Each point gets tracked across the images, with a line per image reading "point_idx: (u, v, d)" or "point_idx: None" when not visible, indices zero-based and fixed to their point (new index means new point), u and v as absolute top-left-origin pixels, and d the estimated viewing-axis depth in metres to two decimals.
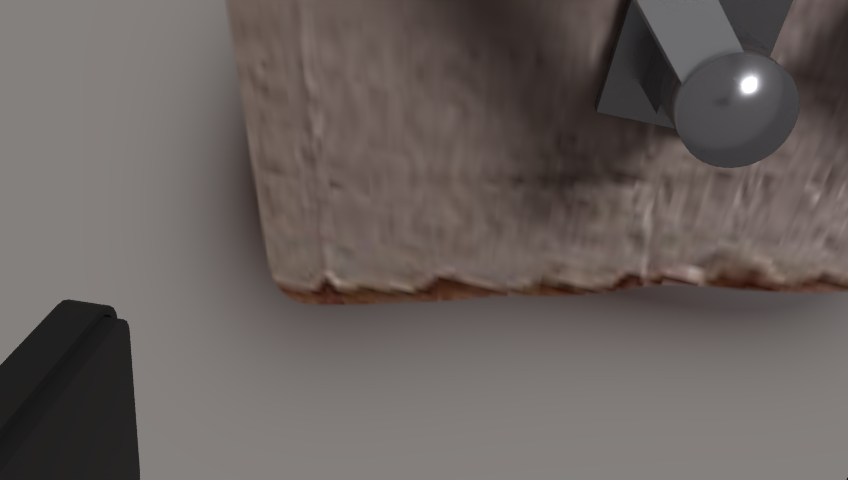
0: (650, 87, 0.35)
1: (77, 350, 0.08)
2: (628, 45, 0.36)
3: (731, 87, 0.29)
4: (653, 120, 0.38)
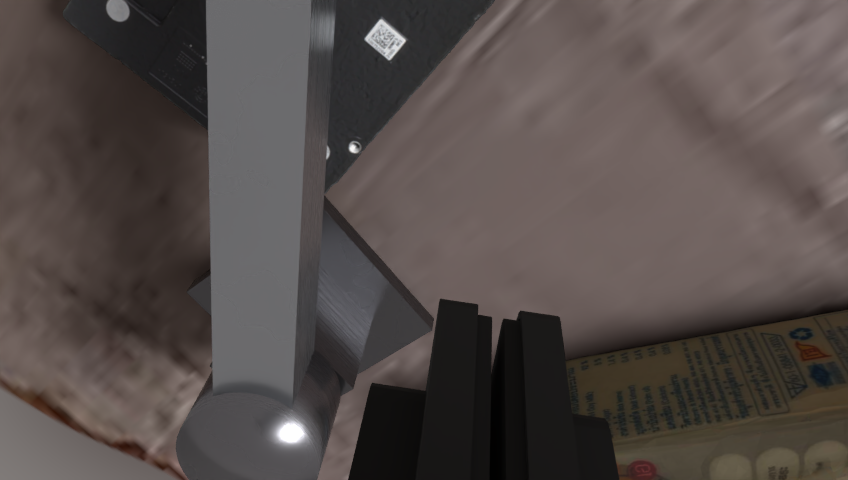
0: None
1: (478, 344, 0.09)
2: None
3: (254, 435, 0.23)
4: None
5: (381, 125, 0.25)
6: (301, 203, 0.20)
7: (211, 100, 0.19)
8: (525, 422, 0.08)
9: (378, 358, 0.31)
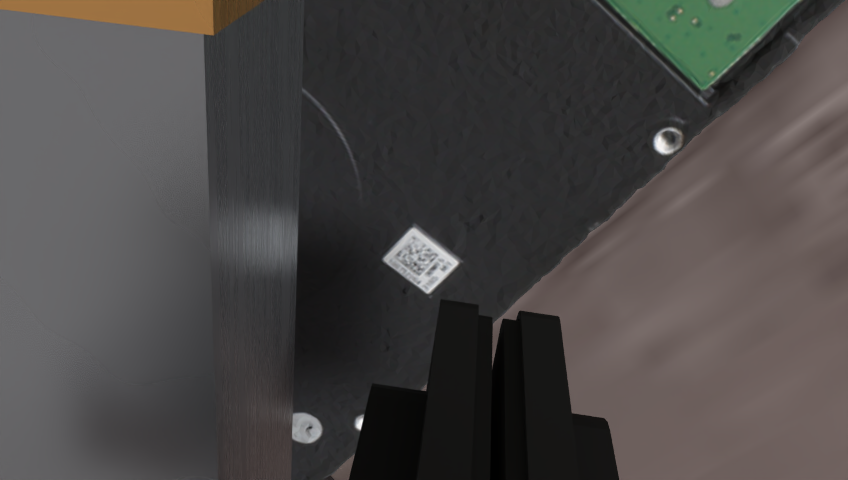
0: None
1: (479, 344, 0.09)
2: None
3: None
4: None
5: None
6: None
7: None
8: (524, 422, 0.08)
9: None
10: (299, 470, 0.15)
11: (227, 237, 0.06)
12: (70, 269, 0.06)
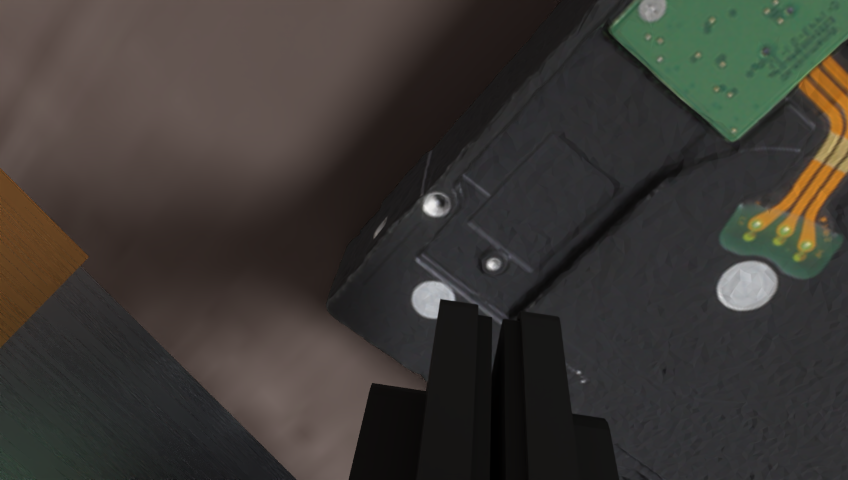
0: None
1: (479, 344, 0.09)
2: None
3: None
4: None
5: None
6: None
7: None
8: (524, 422, 0.08)
9: None
10: None
11: None
12: None
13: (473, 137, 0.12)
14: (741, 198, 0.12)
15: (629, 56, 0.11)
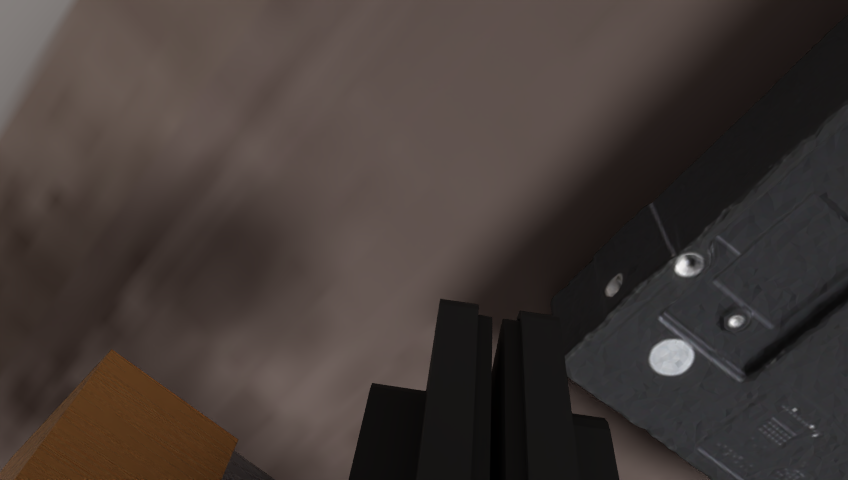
0: None
1: (479, 344, 0.09)
2: None
3: None
4: None
5: None
6: None
7: None
8: (524, 422, 0.08)
9: None
10: None
11: None
12: None
13: (735, 199, 0.12)
14: None
15: None
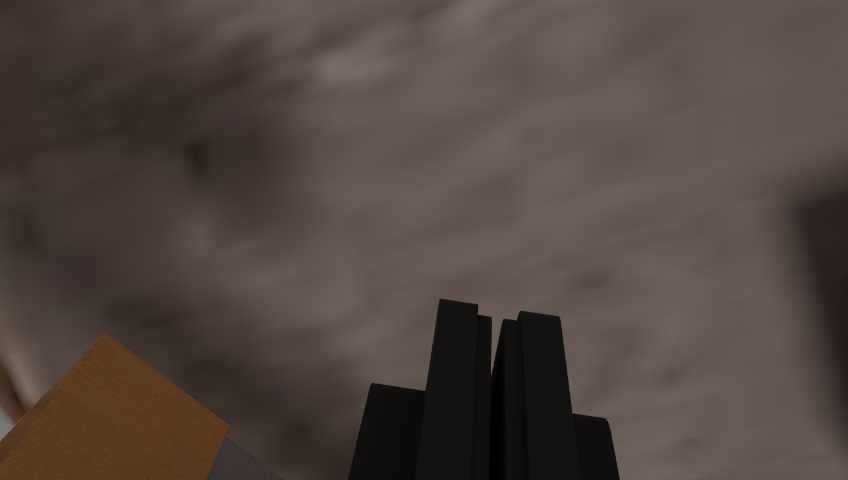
0: None
1: (478, 344, 0.09)
2: None
3: None
4: None
5: None
6: None
7: None
8: (525, 422, 0.08)
9: None
10: None
11: None
12: None
13: None
14: None
15: None
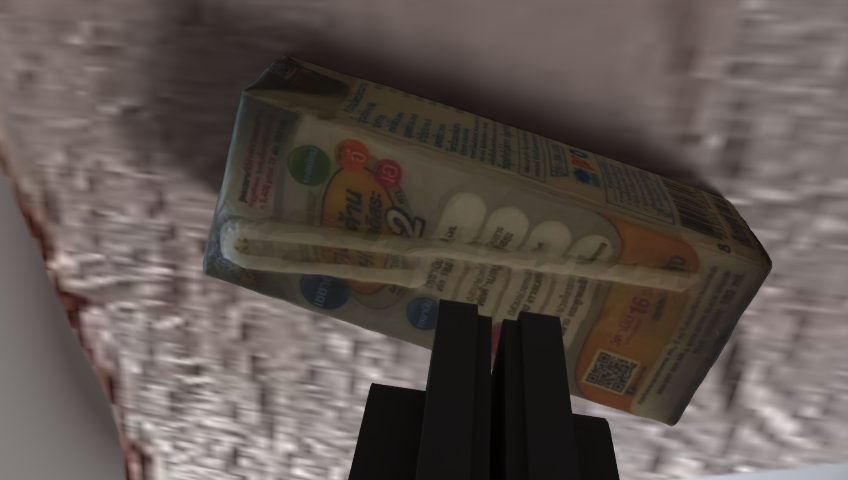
0: None
1: (478, 344, 0.09)
2: None
3: None
4: None
5: None
6: None
7: None
8: (525, 422, 0.08)
9: None
10: None
11: None
12: None
13: None
14: None
15: None
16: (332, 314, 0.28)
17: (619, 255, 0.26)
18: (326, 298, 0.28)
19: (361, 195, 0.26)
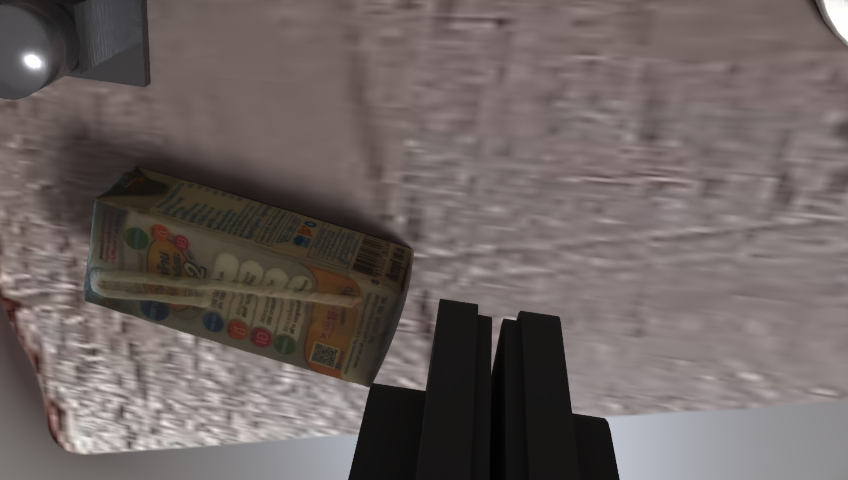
0: None
1: (478, 344, 0.09)
2: None
3: None
4: None
5: None
6: None
7: None
8: (525, 422, 0.08)
9: (100, 78, 0.46)
10: None
11: None
12: None
13: None
14: None
15: None
16: (160, 323, 0.47)
17: (316, 286, 0.45)
18: (156, 314, 0.47)
19: (168, 254, 0.45)
